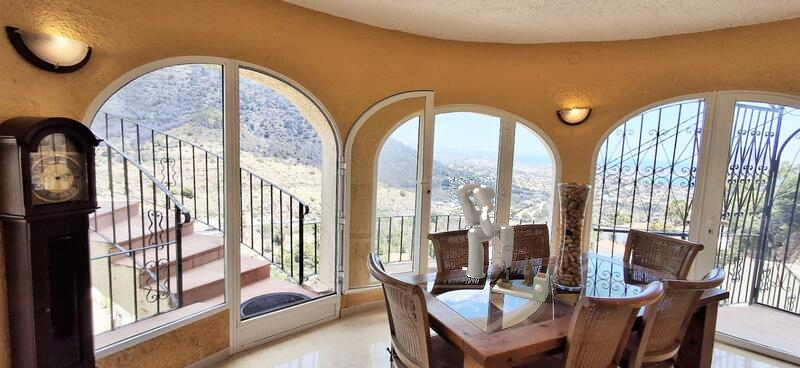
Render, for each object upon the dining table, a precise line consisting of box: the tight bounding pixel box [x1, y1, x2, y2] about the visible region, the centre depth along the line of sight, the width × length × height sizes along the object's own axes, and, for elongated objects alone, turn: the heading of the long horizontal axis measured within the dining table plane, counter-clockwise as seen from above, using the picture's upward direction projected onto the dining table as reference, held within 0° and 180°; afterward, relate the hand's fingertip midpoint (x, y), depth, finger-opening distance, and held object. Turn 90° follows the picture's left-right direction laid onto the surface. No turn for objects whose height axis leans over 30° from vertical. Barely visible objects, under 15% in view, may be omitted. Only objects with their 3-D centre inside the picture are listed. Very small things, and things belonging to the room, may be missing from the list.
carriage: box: [495, 268, 514, 289], centre depth 220 cm, size 8×6×10 cm
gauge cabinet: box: [532, 272, 550, 303], centre depth 210 cm, size 6×12×12 cm, turn 149°
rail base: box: [491, 284, 534, 301], centre depth 218 cm, size 22×12×4 cm, turn 59°
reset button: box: [538, 272, 546, 278], centre depth 210 cm, size 3×3×3 cm
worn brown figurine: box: [521, 258, 536, 288], centre depth 230 cm, size 12×6×18 cm, turn 121°
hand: (505, 276), depth 220 cm, fingers open, 9 cm apart
